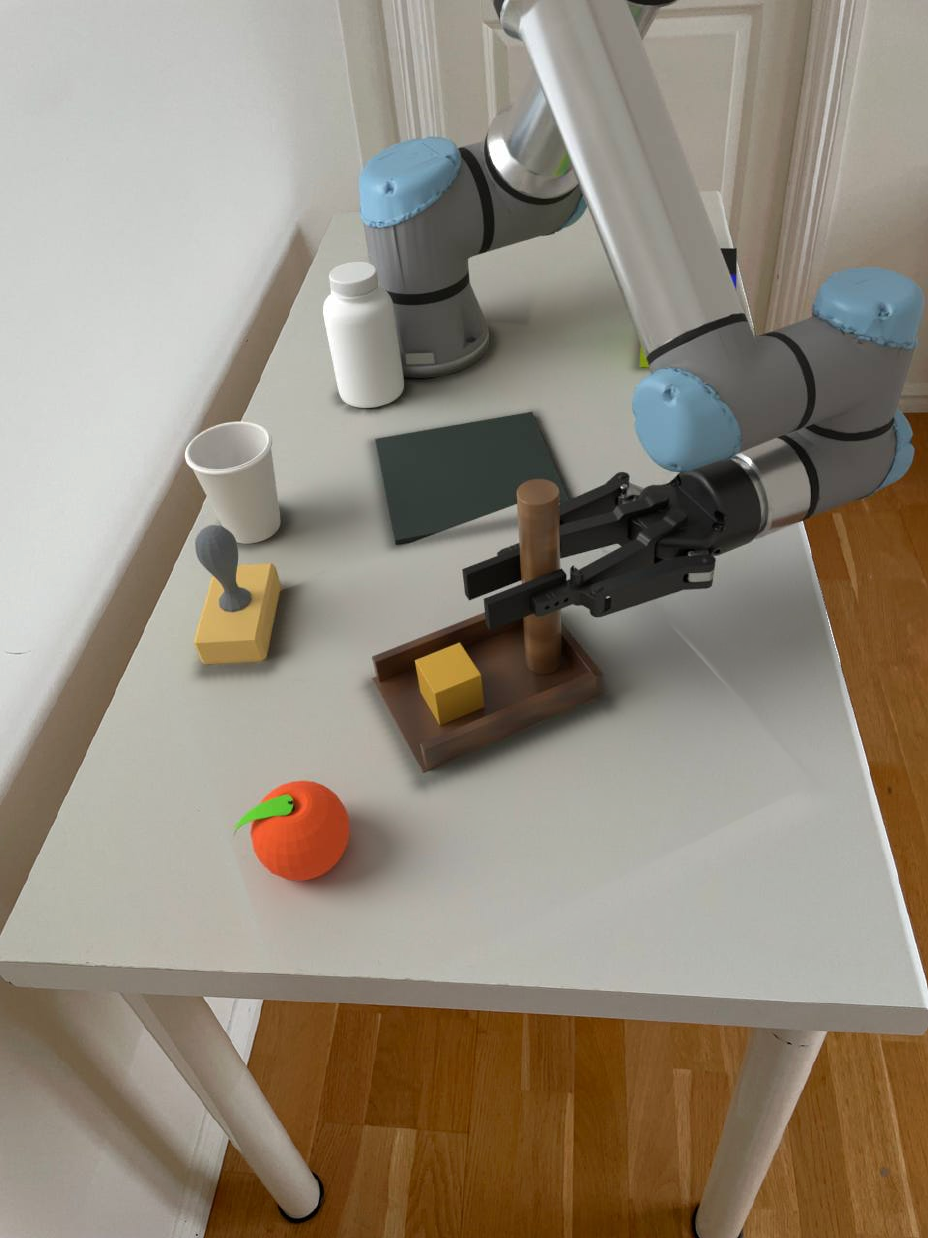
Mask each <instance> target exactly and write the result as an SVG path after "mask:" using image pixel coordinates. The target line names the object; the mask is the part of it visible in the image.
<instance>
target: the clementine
mask: <svg viewBox="0 0 928 1238" xmlns="http://www.w3.org/2000/svg"><path fill="white" fill-rule="evenodd" d="M247 823H251V825H250V839H251V843H252V848H253V852H254V854H255V856H256V857H257V859H258V860H259V862H260V863H261V865H262V866H263V867H264V868H266V869H267V871H269V872H270V873H271V874H273V875H276V876H278V877H280V878H282V879H285V880H287V881H296V882H301V881H310V880H313V879H316V878H319V877H321V876H322V875H324V874H326V873H328V872H330V871H331V869H333V868H334V867H335V866H336V865H337V864H338V862H339V861H340V860H341V858H342V857H343V855H344V853H345V851H346V849H347V846H348V843H349V839H350V825H351V824H350V817H349V815H348V811H347V808H346V807H345V804H344V803H343V801H341V799H340V798H339V796H338V795H337V794H336V793H335V792H334V791H332V790H331V789H330V788H328V787H327V786H325V785H323V784H321V783H318V782H315V781H311V780H296V781H290V782H287V783H284V784H281V785H279V786H278V787H276V788H274V789H273V790H271V791H270V792H268V794H267V795H265V796H264V797H263V798H262V800H261V801H260V802H259V804H258V805H256V806H254V807H253V808H251V809H250V810H249V811H248V812H246V813H245V814H244V815H243V816H242V817H241V818H240V819H239V821H238V822H237V823H236V825H235V828H234V832H233V836H235V835H236V833H237V831H238V829H240V828H241V827H242V826H243V825H245V824H247Z"/></svg>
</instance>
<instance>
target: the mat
mask: <svg viewBox="0 0 928 1238" xmlns="http://www.w3.org/2000/svg"><path fill="white" fill-rule="evenodd" d="M374 441H375V445H376V452H377V455H378V461H379V466H380V472H381V477H382V481H383V486H384V493H385V497H386V502H387V507H388V513H389V517H390V518H389V519H390V523H391V528H392V534H393V538H394V544H395V545H400V544H407V543H412V542H417V541H419V540H423V539H425V538H429V537H431V536H434V535H437V534H439V533H441V532H444V531H447V530H449V529H452V528H455V527H458V526H461V525H463V524H466V523H470V522H471V521H474V520H477V519H480V518H483V517H485V516H489V515H491V514H494V513H496V512H500V511H501V510H504V509H507V508H510V507H513V506H515V505H517V490H518V488H519V486H520V485H521V484H523V483H524V482H526V481H529V480H533V479H545V480H549V481H551V482H553V483H555V484H556V485H557V487H558V488H559V504H562V503H564V502H566V501H568V500H570V498H569V496H568V493H567V490H566V488H565V486H564V484H563V481H562V479H561V477H560V475H559V472H558V469H557V468H556V465H555V463H554V461H553V457H552V455H551V453H550V451H549V448H548V446H547V444H546V441H545V439H544V437H543V434H542V432H541V430H540V427H539V425H538V422H537V420H536V418H535V415H534V413H533V411H529V412H528V411H527V412H522V413H516V414H510V415H505V416H499V417H493V418H488V419H481V420H476V421H470V422H464V423H459V424H452V425H447V426H442V427H435V428H430V429H424V430H418V431H413V432H406V433H401V434H395V435H388V436H383V437H378V438H375V440H374Z"/></svg>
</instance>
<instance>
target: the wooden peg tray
mask: <svg viewBox="0 0 928 1238" xmlns="http://www.w3.org/2000/svg"><path fill="white" fill-rule="evenodd" d="M559 504H560V503H559V488H558V487H557V485H556V484H555V483H553V482H551V481H549V480H545V479H533V480H529V481H526V482H524V483H523V484H521V485H520V486H519V488H518V490H517V504H516V505H517V506H516V507H517V523H518V525H517V526H518V543H519V546H520V564H521V581H520V582H521V583H520V584H523V583H525V582H528V581H531V580H533V579H536V578H538V577H541V576H543V575H546V574H549V573H551V572H554V571H556V570H559V569H561V559H560V508H559ZM457 643H460V644H461V645H462V647H463V648H464V650H465V651H466V653H467V654H468V656H469V657H470V659H471V660H472V662H473V663H474V665H475V666H476V668H477V669H478V671H479V672H480V674H481V679H482V688H483V698H484V707H483V708H481V709H478V710H476V711H474V712H471V713H469V714H466V715H464V716H462V717H459V718H457V719H455V720H452V721H450V722H447V723H445V724H443V725H439V723H438V721H437V720H436V718H435V716H434V715H433V713H432V711H431V709H430V708H429V706H428V704H427V703H426V701H425V699H424V697H423V696H422V694H421V692H420V686H419V681H418V675H417V670H416V664H415V660H417V659H420V658H422V657H425V656H427V655H430V654H432V653H435V652H437V651H440V650H442V649H445V648H447V647H450V646H452V645H455V644H457ZM371 659H372V664H373V668H374V673H375V676H374V677H372V678H371V680H372V683H374V685H375V687H376V690H377V691H378V693H379V695H380V697H381V698H382V700H383V703H384V704H385V706H386V708H387V710H388V712H389V713H390V715H391V717H392V719H393V721H394V723H395V725H396V726H397V728H398V730H399V732H400V733H401V736H402V738H403V739H404V741H405V743H406V745H407V747H408V749H409V750H410V752H411V754H412V756H413V757H414V759H415V761H416V764H417V765H418V767H419V769H420V771H421V772H422V773H423V774H424V773H427V772H430V771H431V770H434V769H436V768H438V767H441V766H443V765H445V764H448V763H451V762H452V761H454V760H457V759H459V758H461V757H463V756H464V757H465V756H466V755H468V754H470V753H472V752H475V751H478V750H480V749H482V748H484V747H486V746H489V745H492V744H493V743H496V742H498V741H501V740H503V739H505V738H507V737H509V736H512V735H514V734H516V733H519V732H521V731H524V730H526V729H529V728H530V727H533V726H535V725H537V724H540V723H542V722H545V721H547V720H549V719H551V718H553V717H556V716H558V715H560V714H563V713H565V712H567V711H569V710H572V709H575V708H577V707H579V706H581V705H583V704H586V703H588V702H591V701H593V700H595V699H598V698H599V697H602V696H603V695H604V680H605V679H604V677H605V676H604V673H603V672H602V671H601V669H600V668H599V666H598V665H597V664H596V663H595V661H594V660H593V659H592V658H591V656H590V655H589V654H588V653H587V652H586V650H585V649H584V647H583V646H582V644H580V643H579V641H578V640H577V638H576V637H575V636H574V635H573V634H572V632H571V631H570V630H569V629H568V627H567V626H566V625H565V624H564V623H563V621H562V609H560V610H557V611H555V612H552V613H550V614H547V615H545V616H539V617H536V616H535V614H531V615H529V616H526V617H524V618H521V619H519V620H516V621H514V622H511V623H509V624H506V625H504V626H501V627H499V628H496V629H494V630H491V631H490V629H489V628H488V627H487V625H486V619H485V611H484V612H482V613H479V614H477V615H474V616H472V617H468V618H465V619H464V620H461V621H459V622H456V623H454V624H451V625H449V626H446V627H444V628H441V629H438V630H435V631H433V632H431V633H428V634H426V635H423V636H421V637H418V638H416V639H413V640H411V641H407V642H405V643H403V644H401V645H397V646H395V647H393V648H390V649H388V650H385V651H382V652H380V653H378V654H374V655H373V656H371Z"/></svg>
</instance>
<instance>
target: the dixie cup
mask: <svg viewBox="0 0 928 1238" xmlns="http://www.w3.org/2000/svg"><path fill="white" fill-rule="evenodd" d="M272 446H273V436H272V435H271V432H270V431H269V430H268V429H267V428H265V427H264V426H262V425H260V424H257V423H254V422H250V421H229V422H224V423H220V424H216V425H214V426H211V427H209V428H207V429H205V430H203V431H201V432H200V433H199V434H197V435H196V436H195V437H193V438H192V440H190V442H189V443H188V445H187V447H186V449H185V453H184V458H185V462H186V464H187V465H188V467H190V469H192V470H193V472H194V474H195V476H196V478H197V480H198V483H199V484H200V486H201V488H202V490H203V492H204V494H205V496H206V497H207V499H208V501H209V504H210V505H211V507H212V509H213V511H214V512H215V514H216V516H217V518H218V520H219V522H220V524H221V526H223V527H224V528H226V529H227V530H229V531H230V532H231V533H232V534H233V536H234V537H235V539H236V542H237V544H244V545H250V544H257V543H260V542H263V541H266V540H267V539H270V538H271V537H273V535H275V534H276V533H277V531H278V530H279V529H280V528H281V521H282V520H281V511H280V503H279V498H278V491H277V483H276V481H277V480H276V475H275V467H274V460H273V459H274V458H273V451H272Z"/></svg>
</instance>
